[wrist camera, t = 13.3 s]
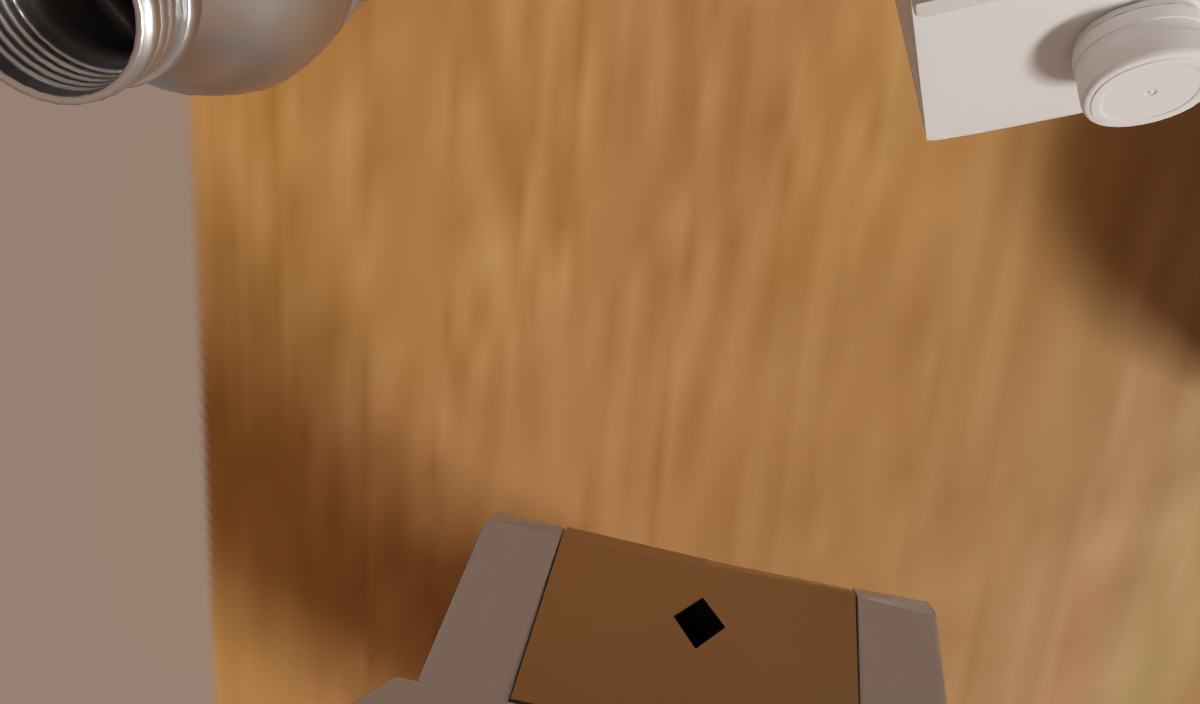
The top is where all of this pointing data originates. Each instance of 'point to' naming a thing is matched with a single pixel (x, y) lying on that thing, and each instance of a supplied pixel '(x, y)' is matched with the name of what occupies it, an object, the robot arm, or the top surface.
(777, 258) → the top surface
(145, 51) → the plastic bottle
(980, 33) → the milk carton
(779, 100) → the top surface
